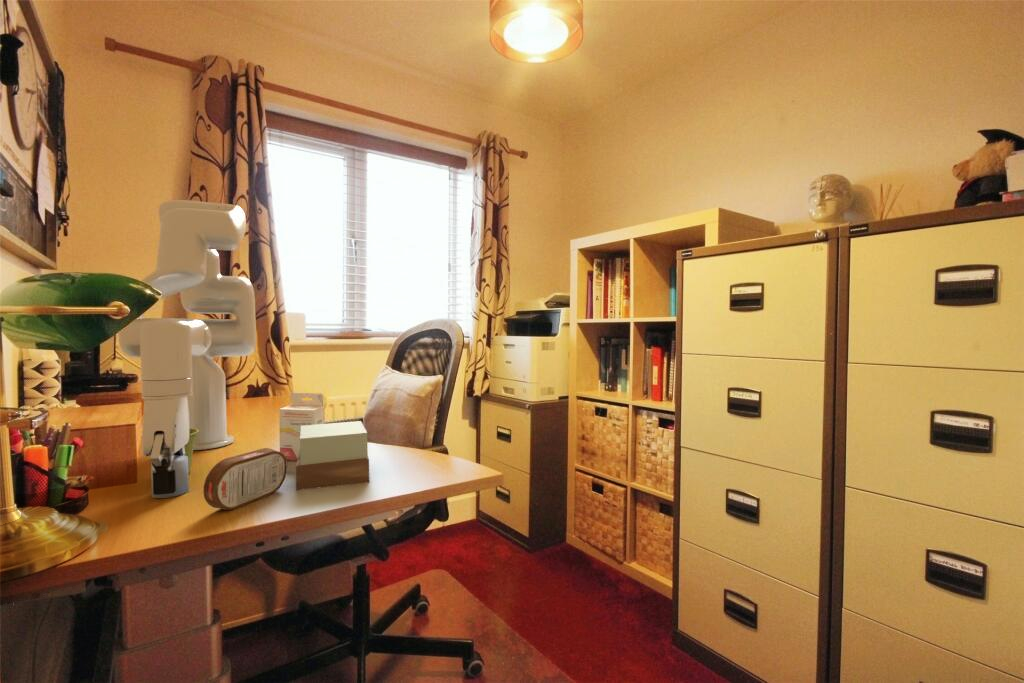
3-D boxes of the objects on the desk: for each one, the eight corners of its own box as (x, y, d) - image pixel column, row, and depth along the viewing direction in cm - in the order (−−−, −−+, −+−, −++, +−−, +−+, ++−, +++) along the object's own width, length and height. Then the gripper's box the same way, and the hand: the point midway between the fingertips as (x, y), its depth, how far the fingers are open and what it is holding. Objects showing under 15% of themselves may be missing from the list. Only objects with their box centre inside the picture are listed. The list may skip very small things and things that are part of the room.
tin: (278, 486, 92) (277, 442, 92) (290, 488, 91) (290, 444, 91) (202, 516, 78) (200, 464, 78) (216, 519, 77) (214, 466, 77)
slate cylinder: (158, 489, 90) (157, 457, 90) (192, 485, 92) (191, 454, 92) (147, 499, 85) (145, 465, 85) (183, 495, 87) (182, 462, 87)
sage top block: (301, 449, 102) (300, 425, 102) (361, 443, 106) (360, 421, 106) (300, 465, 91) (300, 438, 90) (367, 458, 95) (367, 432, 95)
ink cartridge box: (278, 460, 109) (277, 395, 109) (290, 454, 114) (289, 392, 114) (315, 461, 109) (314, 396, 108) (325, 455, 114) (324, 392, 113)
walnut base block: (300, 471, 103) (300, 448, 102) (365, 465, 107) (364, 443, 107) (296, 492, 91) (295, 465, 90) (369, 484, 95) (369, 459, 95)
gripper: (159, 383, 95) (162, 475, 95) (122, 396, 78) (126, 507, 79) (204, 381, 97) (206, 471, 98) (177, 394, 81) (180, 502, 82)
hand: (170, 486), depth 89 cm, fingers closed on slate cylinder, 5 cm apart
